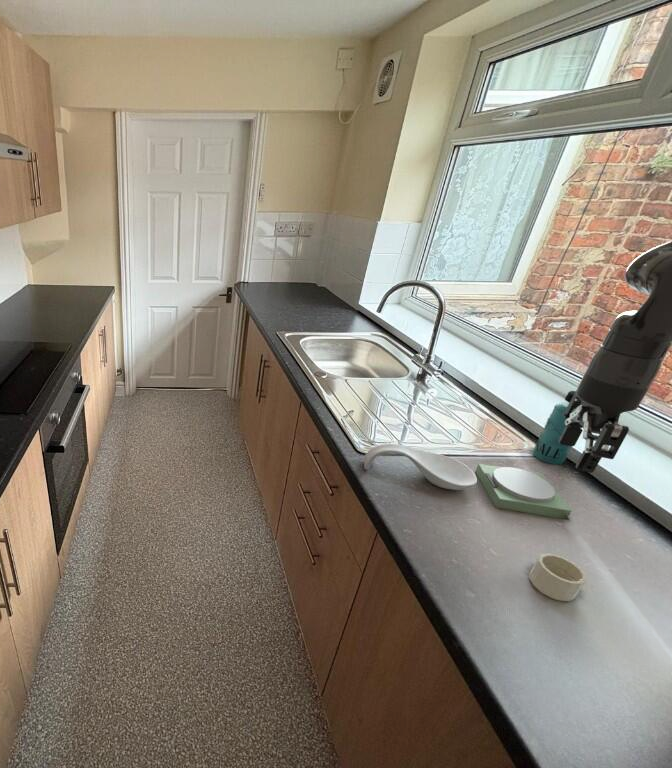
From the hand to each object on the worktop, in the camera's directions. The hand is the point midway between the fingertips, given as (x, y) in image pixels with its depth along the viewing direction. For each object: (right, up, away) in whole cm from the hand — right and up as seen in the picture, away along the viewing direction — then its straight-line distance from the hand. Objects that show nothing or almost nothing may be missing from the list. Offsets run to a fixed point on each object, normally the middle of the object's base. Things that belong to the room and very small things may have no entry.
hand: (574, 456), depth 75 cm
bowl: (-4, -24, 0) cm, 24 cm away
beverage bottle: (+25, -7, +32) cm, 41 cm away
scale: (+8, -12, +21) cm, 26 cm away
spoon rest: (-12, -10, +28) cm, 32 cm away
